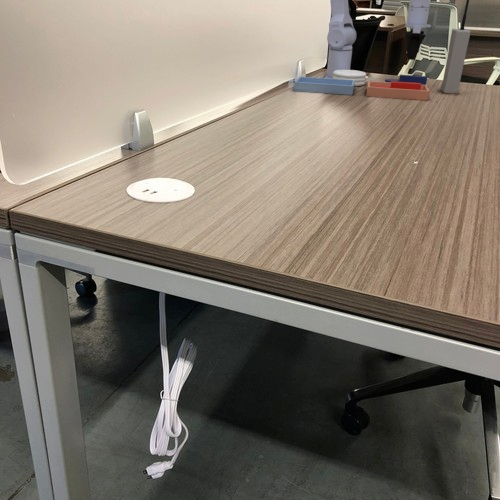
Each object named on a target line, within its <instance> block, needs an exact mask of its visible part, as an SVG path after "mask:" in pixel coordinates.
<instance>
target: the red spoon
mask: <svg viewBox="0 0 500 500" xmlns="http://www.w3.org/2000/svg"><path fill="white" fill-rule="evenodd" d="M375 87H381V88H395V89H410V90H420V89H421V83H410V82H395V81H391V86H390V87H388V86H375Z"/></svg>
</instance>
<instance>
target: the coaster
mask: <svg viewBox="0 0 500 500" xmlns="http://www.w3.org/2000/svg"><path fill="white" fill-rule="evenodd" d="M366 76H367V72H365V71H361V70H355V69H350V70H336V71H334V72H333V79H344V80H355V85H354V87H363V86H364V85H365V84H366V80H367V78H366Z"/></svg>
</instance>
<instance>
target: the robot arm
mask: <svg viewBox="0 0 500 500" xmlns="http://www.w3.org/2000/svg"><path fill="white" fill-rule="evenodd" d="M431 1H432V0H409V3H408V8H407V9H408V10H407V16H406V22H405V25H404V27H405V28H409V29H410V30H409V31H408V30H404V31H403V32H404V37H405V41H406V43H405V45H406V46H405V47H406V49H405V50H406V52H405V53H406V57H407V60H409V61H410V60H411V61H415V60H416V58H417V57H418V53H419V50H420V49H421V48H420V47H421V45H422V43H423V41H424V40H425V38H426V36H427V34H425V31H424V30H422V29H428V28H431V27H432V25H431V24H428V20H429V19H428V18H429V14H430V8H431V3H432V2H431ZM329 2H330V11H331V18H330V21H329V23H328V33H327V36H326V38H327V39H326V40H327V44H328V57H327V66H326V67H327V68H326V75H325V76H324V77H323V78H329V79H333V72H334V71H336V70H351V64H352V56H353V44H354V43H355V42H356V39H357V31H356V29H355V27H354V24H353V19H352V17H351V15H350V11H349V10H350V9H349V0H330V1H329Z"/></svg>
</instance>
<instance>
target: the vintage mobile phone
mask: <svg viewBox="0 0 500 500" xmlns="http://www.w3.org/2000/svg"><path fill="white" fill-rule="evenodd" d="M469 2H470V0H466V1H465V6H464V7H465V8H464V12H463V14H462V15H463V16H462V20H461V25H460V27H459V28H452V29H451V34H450V40H449V45H448V51H447V52H448V53H447V58H446V63H445V67H444V73H443V79H442V81H441V84H440V88H439V89H440V91H441V93H443V94H450V95H457V94H458V93H459V89H460V83H461V79H462V74H463V70H464V65H465V59H466V56H467V52H468V51H467V50H468V46H469V42H470V38H471V37H470V36H471V30H470V29H465V24H466V20H467V13H468V8H469Z"/></svg>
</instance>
